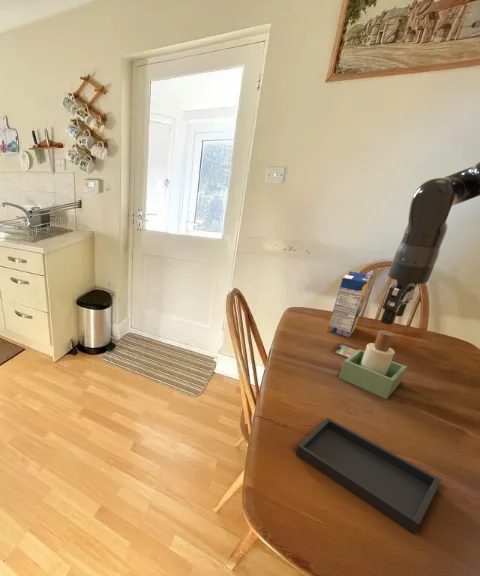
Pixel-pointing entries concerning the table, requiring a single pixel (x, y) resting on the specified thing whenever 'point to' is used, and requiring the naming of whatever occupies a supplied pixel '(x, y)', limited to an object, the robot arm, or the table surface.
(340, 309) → the beverage box
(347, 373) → the bin
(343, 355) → the smartphone
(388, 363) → the bottle
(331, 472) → the tray
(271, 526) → the table surface
